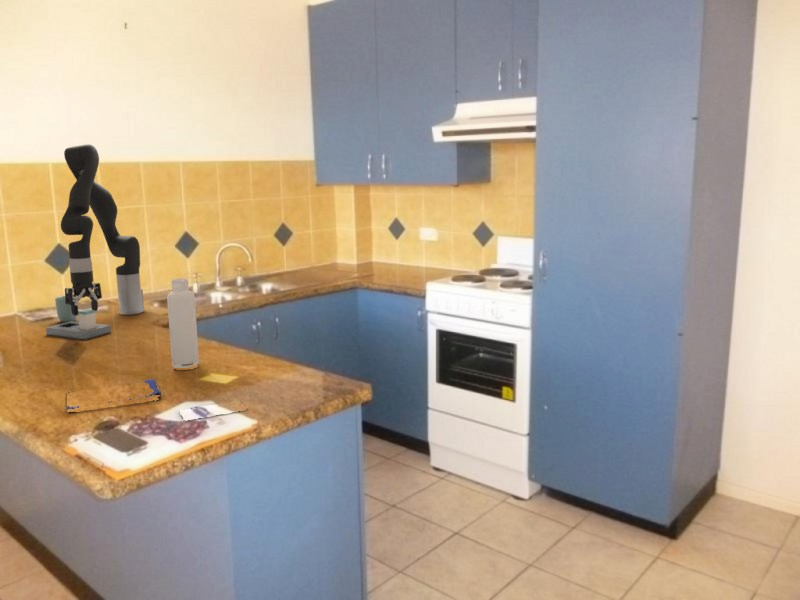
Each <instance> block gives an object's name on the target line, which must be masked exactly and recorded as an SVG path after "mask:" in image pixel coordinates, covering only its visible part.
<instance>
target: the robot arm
mask: <svg viewBox="0 0 800 600" xmlns="http://www.w3.org/2000/svg"><path fill="white" fill-rule="evenodd" d="M63 154H64V160H65V162H66V164H67V166H68V168H69V170H70V172H71V173H72V176H73V177H74V178H75V180H76V181H75V182H74V184H73V186H72V187H71V189H70V191H69V194H68V195H69V196H68V204H67V207H66V210H65V213H63V216H62V218H61V220H60V229H61V232H63V234H65V235H66V236H82V237H81V239H80V240H76V241H71V242H69V243H68V256H69V273H70V282H71V284H72V287H66V288H64V296H65V303H66V304H68V305H71V311H72V314H73V315H75V316H77V315H79V314H78V311H79V306H78V305H77V304H78V303H79V301H81V300H82V299H83V298H86V297H87V298H89V300H90V307H91V310H95V312H98V309H99V303H98V301H99V300H100V299H103V298H102V297H103V296H102V294H103V293H102V287H101V283H100V282H94V272H93V263H92V257H91V238H92V232H93V229H94V222H93V219H92V218H91V217H90V216H89V215H86V214H88V212H89V211H90V209H91V211H92V213H93V215H94V217H95V218H96V221H97V223H98V224H99V227H100V229H101V231H102V234H103V236H104V239H105V241H106V245H107V247H108V249H109V252H110V254H112V256H113V257H116V258H121V259H122V258H123V259H124V263H123V264H121V265H119V266H116V267H115V275H116V284H117V285H116V286H117V297H118V306H119V314H120V315H124V316H125V315H126V316H127V315H128V316H129V315H138V314H141V313H143V312H145V301H144V291H143V289H142V288H141V276H140V267H141V252H140V251H141V249H140V242H139V239H137V237H135V236H132V235H121V234H120V233H119V230H118V229H117V226H116V219H117V216H118V207H117V204H116V201H115V200H114V197H113V195H112V194H111V192H110V191H109V190H108V189H106V188H105V187H104V186H102V185H101V184H99V183H98V182H97V181H95V179H96V175H97V171H98V168H99V164H100V156H99V152H98V150H97V148H96V147H95V146H94V145H93V144H89V143H88V144H81V145H73V146H69V147H67V148H65V149H64V153H63Z"/></svg>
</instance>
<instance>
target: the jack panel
mask: <svg viewBox="0 0 800 600" xmlns="http://www.w3.org/2000/svg"><path fill="white" fill-rule="evenodd" d="M45 333H46V336H50V337H56V338H65V339H72V340H73V339H74V340H80V341H88V340H92V339H95V338H98V337H102V336H106V335H108V334H112V326H111V325H109V324H102V323H96V328H92V329H89V330H84V329H80V326H79V320H78V321H77V320H75V321H70V322H62V323H58V324H54V325H50V326H46V327H45Z"/></svg>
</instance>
